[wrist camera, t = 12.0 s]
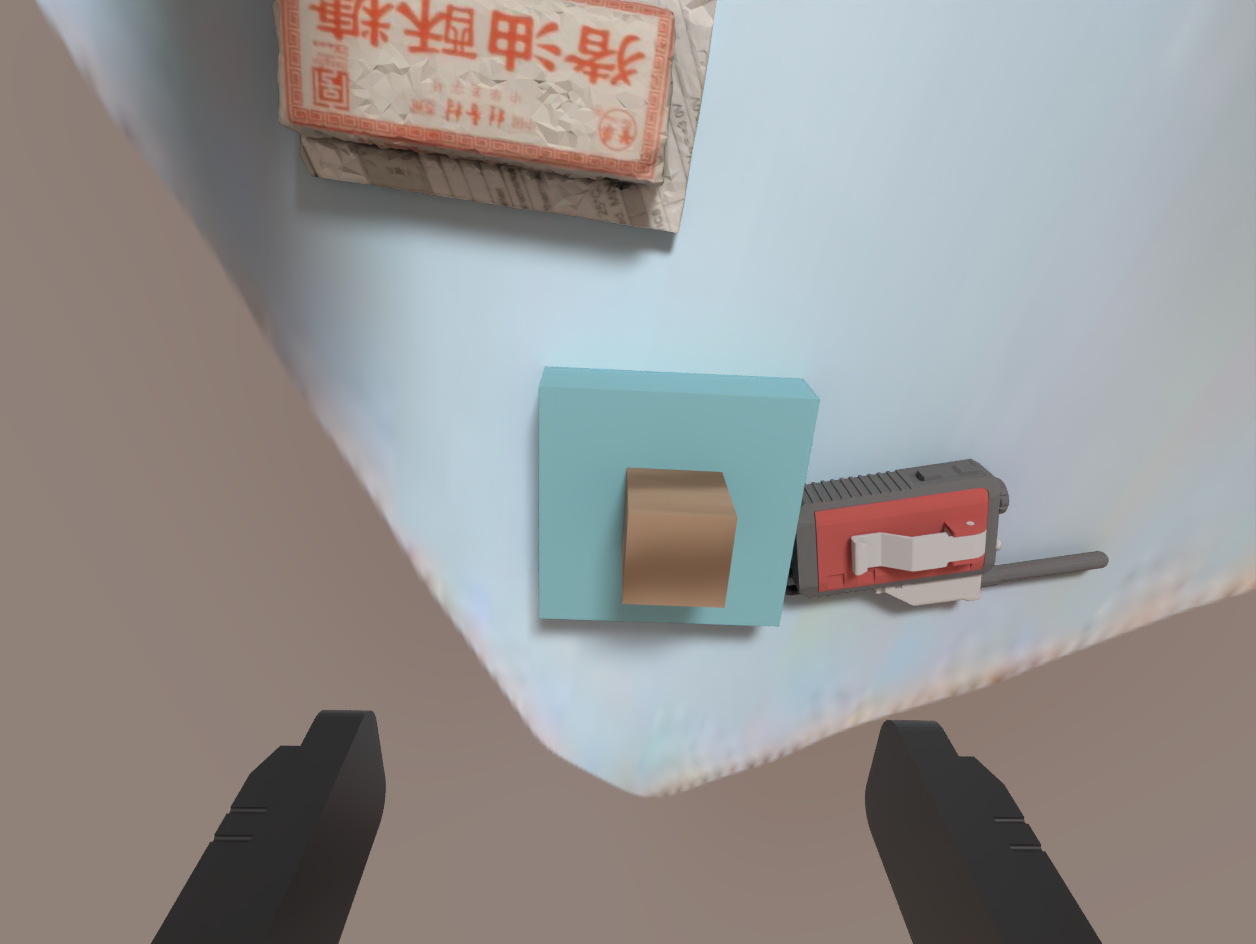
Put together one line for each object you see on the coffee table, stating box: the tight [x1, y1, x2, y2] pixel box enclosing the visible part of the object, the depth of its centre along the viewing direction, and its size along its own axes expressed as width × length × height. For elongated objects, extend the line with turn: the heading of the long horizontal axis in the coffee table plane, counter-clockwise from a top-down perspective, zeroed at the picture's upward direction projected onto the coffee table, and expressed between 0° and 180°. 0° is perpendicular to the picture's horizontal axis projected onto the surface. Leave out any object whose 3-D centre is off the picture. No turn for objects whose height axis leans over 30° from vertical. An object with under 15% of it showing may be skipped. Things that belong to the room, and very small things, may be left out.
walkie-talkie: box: [785, 459, 1109, 606], centre depth 40 cm, size 9×4×20 cm
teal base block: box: [539, 366, 820, 627], centre depth 39 cm, size 14×14×4 cm
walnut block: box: [622, 467, 737, 608], centre depth 35 cm, size 5×5×5 cm
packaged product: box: [272, 0, 717, 233], centre depth 30 cm, size 18×5×10 cm
